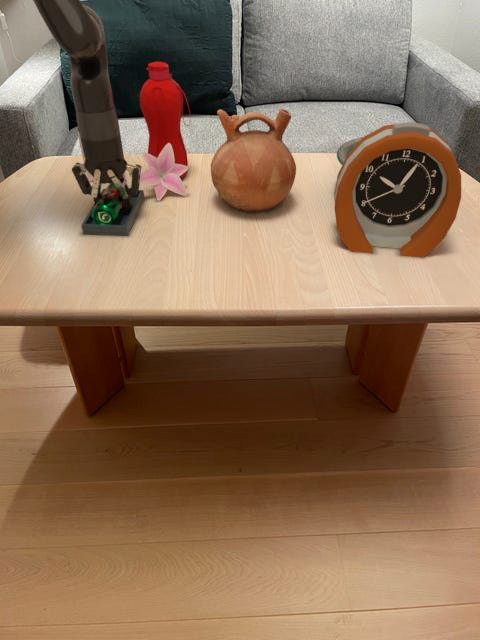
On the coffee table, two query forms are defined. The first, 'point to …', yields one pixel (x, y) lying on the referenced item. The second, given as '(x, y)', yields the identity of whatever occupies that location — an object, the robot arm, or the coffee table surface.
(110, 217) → the soda can
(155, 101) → the water bottle
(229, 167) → the jug
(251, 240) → the coffee table surface
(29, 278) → the coffee table surface
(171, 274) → the coffee table surface
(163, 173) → the lily
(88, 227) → the tray
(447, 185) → the alarm clock
